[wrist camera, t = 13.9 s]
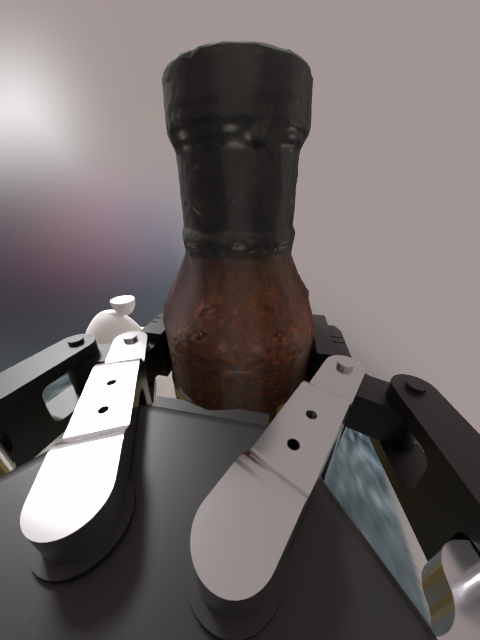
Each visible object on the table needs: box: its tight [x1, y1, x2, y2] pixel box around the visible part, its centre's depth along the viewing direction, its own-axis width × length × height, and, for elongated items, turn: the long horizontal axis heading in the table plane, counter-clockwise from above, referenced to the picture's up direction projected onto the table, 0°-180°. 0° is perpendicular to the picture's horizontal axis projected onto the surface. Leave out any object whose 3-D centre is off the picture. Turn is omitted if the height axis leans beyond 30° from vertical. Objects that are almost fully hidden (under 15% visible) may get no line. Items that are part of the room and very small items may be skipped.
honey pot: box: [85, 295, 176, 399], centre depth 30 cm, size 13×13×18 cm
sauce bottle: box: [162, 41, 314, 424], centre depth 11 cm, size 7×6×20 cm
